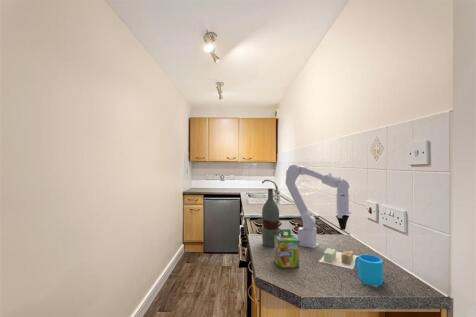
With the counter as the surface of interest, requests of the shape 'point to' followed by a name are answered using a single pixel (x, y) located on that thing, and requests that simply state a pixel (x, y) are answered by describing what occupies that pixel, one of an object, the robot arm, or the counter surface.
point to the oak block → (347, 257)
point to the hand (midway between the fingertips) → (342, 229)
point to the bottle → (270, 220)
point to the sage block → (330, 255)
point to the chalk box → (286, 250)
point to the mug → (370, 269)
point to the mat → (340, 261)
